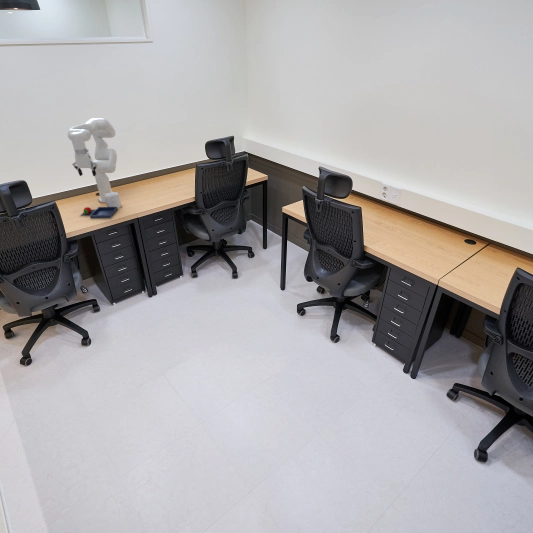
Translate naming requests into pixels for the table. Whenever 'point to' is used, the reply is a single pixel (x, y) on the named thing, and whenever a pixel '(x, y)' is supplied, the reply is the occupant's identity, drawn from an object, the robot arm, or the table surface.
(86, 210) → the strawberry
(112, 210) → the tray
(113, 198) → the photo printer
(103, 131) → the robot arm
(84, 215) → the mat
